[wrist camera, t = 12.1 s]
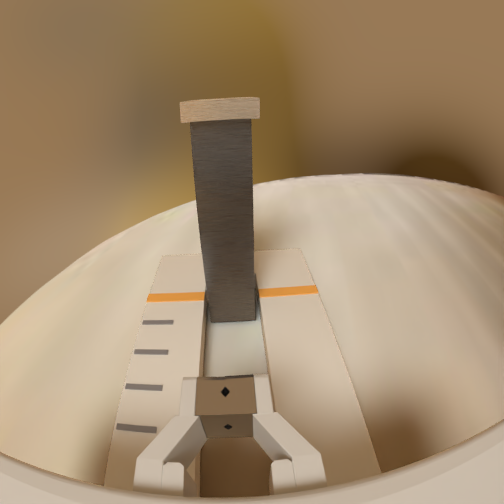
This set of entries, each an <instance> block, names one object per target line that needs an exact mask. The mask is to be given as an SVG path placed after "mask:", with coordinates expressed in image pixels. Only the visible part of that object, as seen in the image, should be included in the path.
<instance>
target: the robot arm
mask: <svg viewBox="0 0 504 504" xmlns="http://www.w3.org/2000/svg"><path fill="white" fill-rule="evenodd" d="M228 437H254V439H255V440H256V441H257V443H258V444H259V445H260V446H261V448H262V449H263V450H264V451H265V453H266V454H267V455H268V456H269V457H270V459H271V460H272V461H273V463H272V464H271V469H270V477H269V491H270V495H267V496H253V497H230V498H205V497H197V485H196V483H195V482H194V481H193V479H192V478H191V476H190V475H189V473H188V472H187V469H188V467H189V466H190V464H191V463H192V461H193V460H194V458H195V457H196V456H197V454H198V453H199V451H200V450H201V448H202V447H203V445H204V444H205V442H206V441H207V438H228ZM0 504H504V419H503V420H501V421H500V422H498V423H496V424H495V425H493V426H491V427H489V428H488V429H486V430H484V431H482V432H480V433H478V434H477V435H475V436H473V437H471V438H469V439H467V440H465V441H463V442H461V443H459V444H457V445H455V446H452V447H450V448H448V449H446V450H444V451H441V452H439V453H437V454H434V455H432V456H429V457H427V458H424V459H422V460H419V461H417V462H414V463H411V464H409V465H406V466H403V467H400V468H397V469H394V470H391V471H388V472H385V473H381V474H378V475H375V476H371V477H367V478H364V479H360V480H356V481H352V482H348V483H343V484H339V485H334V486H329V487H328V486H327V481H326V476H325V472H324V467H323V462H322V458H321V453H319V452H318V451H317V450H316V449H315V448H314V447H313V446H312V445H311V444H310V443H309V442H308V441H307V440H306V439H305V438H304V437H303V436H302V435H301V434H300V433H299V432H297V431H296V430H295V429H294V428H293V427H292V426H291V425H290V424H289V423H288V422H287V421H286V420H285V419H284V418H283V417H282V416H281V415H280V414H279V412H274V410H273V403H272V396H271V389H270V381H269V376H268V374H257V375H253V374H252V375H238V376H225V377H183V380H182V386H181V396H180V407H179V415H175V416H174V417H173V418H172V419H171V420H170V421H169V423H168V424H167V425H166V426H165V427H164V428H163V429H162V431H161V432H160V433H159V434H158V435H157V436H156V437H155V438H154V440H153V441H152V442H151V443H150V444H149V445H148V446H147V447H146V449H145V450H144V451H143V452H142V453H141V454H140V455H139V456H138V457H137V461H136V468H135V476H134V484H133V491H128V490H122V489H117V488H112V487H107V486H102V485H97V484H93V483H89V482H85V481H81V480H77V479H73V478H70V477H66V476H63V475H60V474H56V473H53V472H50V471H47V470H44V469H41V468H38V467H36V466H33V465H30V464H28V463H25V462H22V461H20V460H17V459H15V458H13V457H10V456H8V455H6V454H3V453H1V452H0Z"/></svg>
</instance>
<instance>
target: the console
mask: <svg viewBox="0 0 504 504" xmlns="http://www.w3.org/2000/svg"><path fill="white" fill-rule="evenodd" d="M254 280H255V288H256V290H257V297H258V304H259V312H260V319H261V326H262V334H263V341H264V348H265V355H266V363H267V370H268V376H269V381H270V389H271V396H272V403H273V410H274V412H279V414H280V415H281V416H282V417H283V418H284V419H285V420H286V421H287V422H288V423H289V424H290V425H291V426H292V427H293V428H294V429H295V430H296V431H297V432H299V433H300V434H301V435H302V436H303V437H304V438H305V439H306V440H307V441H308V442H309V443H310V444H311V445H312V446H313V447H314V448H315V449H316V450H317V451H318V452H319V453H321V458H322V462H323V467H324V472H325V476H326V481H327V486H328V487H329V486H334V485H339V484H343V483H348V482H352V481H356V480H360V479H364V478H367V477H371V476H375V475H378V474H381V470H380V467H379V464H378V460H377V457H376V454H375V451H374V448H373V444H372V441H371V438H370V435H369V432H368V429H367V426H366V423H365V420H364V417H363V414H362V411H361V408H360V405H359V402H358V399H357V396H356V393H355V391H354V388H353V385H352V382H351V379H350V376H349V374H348V371H347V368H346V365H345V363H344V360H343V357H342V354H341V352H340V349H339V346H338V344H337V341H336V338H335V336H334V333H333V330H332V328H331V325H330V322H329V320H328V317H327V315H326V312H325V309H324V307H323V304H322V302H321V299H320V297H319V294H318V290H317V288H316V285H315V284H314V282H313V279H312V277H311V274H310V272H309V269H308V267H307V264H306V262H305V260H304V257H303V255H302V252H301V250H300V248H298V249H278V250H259V251H254ZM207 300H208V298H207V290H206V282H205V275H204V267H203V258H202V254H184V255H165V256H162V258H161V261H160V264H159V267H158V270H157V273H156V276H155V279H154V282H153V285H152V288H151V291H150V294H149V295H148V298H147V303H146V306H145V310H144V313H143V316H142V320H141V323H140V326H139V330H138V333H137V337H136V340H135V344H134V347H133V351H132V354H131V358H130V362H129V366H128V369H127V373H126V377H125V381H124V385H123V389H122V393H121V398H120V402H119V406H118V411H117V415H116V420H115V425H114V429H113V434H112V439H111V444H110V450H109V455H108V461H107V466H106V472H105V479H104V485H103V486H107V487H112V488H117V489H122V490H128V491H133V484H134V476H135V468H136V461H137V457H138V456H139V455H140V454H141V453H142V452H143V451H144V450H145V449H146V447H147V446H148V445H149V444H150V443H151V442H152V441H153V440H154V438H155V437H156V436H157V435H158V434H159V433H160V432H161V431H162V429H163V428H164V427H165V426H166V425H167V424H168V423H169V421H170V420H171V419H172V418H173V417H174V416H175V415H179V407H180V396H181V386H182V380H183V377H203V364H204V346H205V329H206V314H207ZM187 472H188V473H189V475H190V476H191V478H192V479H193V481H194V482H195V483H196V485H197V497H200V451H199V453H198V454H197V456H196V457H195V458H194V460H193V461H192V463H191V464H190V466H189V467H188V469H187Z"/></svg>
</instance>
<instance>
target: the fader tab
mask: <svg viewBox="0 0 504 504" xmlns="http://www.w3.org/2000/svg"><path fill="white" fill-rule="evenodd" d="M180 113H181V123H185V122H190V129H191V144H192V157H193V169H194V181H195V192H196V203H197V213H198V223H199V232H200V241H201V250H202V258H203V267H204V275H205V282H206V290H207V298H208V305H209V312H210V319H211V322H227V321H246V320H255V280H254V229H253V183H252V182H253V180H252V134H251V119H253V118H260V103H259V98H256V97H242V98H241V97H239V98H218V99H203V100H192V101H185V102H180Z"/></svg>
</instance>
